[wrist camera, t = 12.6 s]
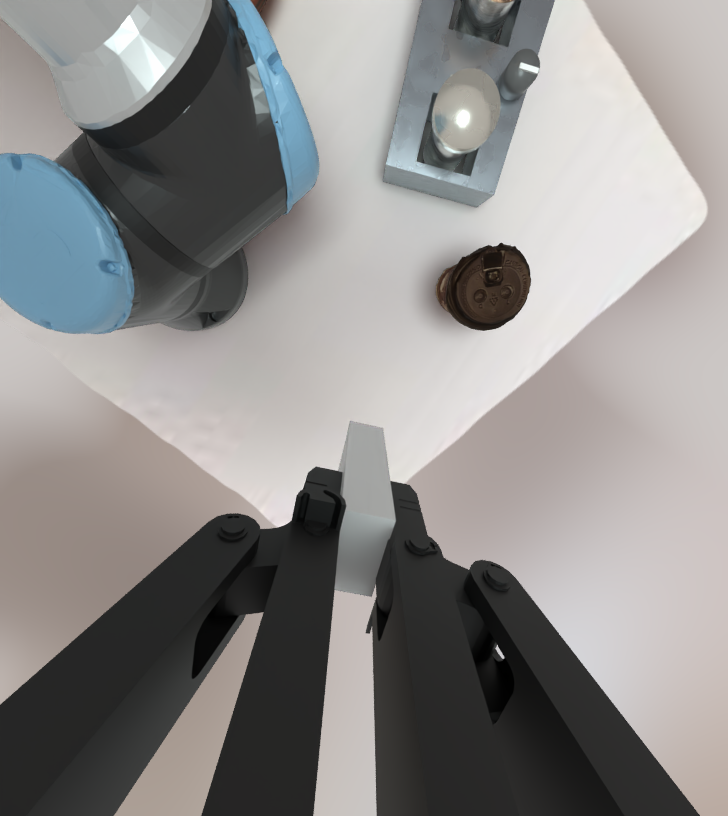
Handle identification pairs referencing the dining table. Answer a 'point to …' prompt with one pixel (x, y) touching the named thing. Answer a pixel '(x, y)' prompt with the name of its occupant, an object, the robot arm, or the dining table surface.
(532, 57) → the knob
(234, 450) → the dining table surface
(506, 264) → the coffee cup
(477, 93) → the white light bulb
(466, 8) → the orange light bulb
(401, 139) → the mount
